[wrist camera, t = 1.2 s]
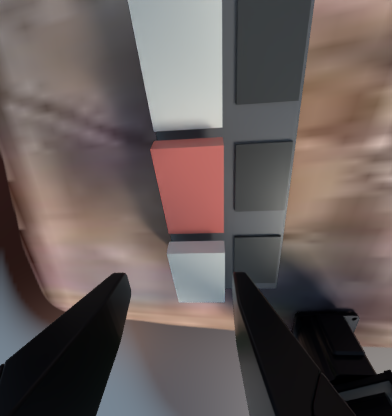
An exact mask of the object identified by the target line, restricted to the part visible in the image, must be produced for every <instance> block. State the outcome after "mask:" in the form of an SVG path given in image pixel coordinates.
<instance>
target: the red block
mask: <svg viewBox="0 0 392 416" xmlns="http://www.w3.org/2000/svg"><path fill="white" fill-rule="evenodd" d="M150 151H151V156H152V160H153V165H154V169H155V174H156V178H157V183H158V187H159V192H160V196H161V201H162V205H163V210H164V214H165V219H166V223H167V228H168V232H169V234H194V233H224V143H223V137H214V138H197V139H179V140H162V141H154V142H153V144H152V146H151V149H150Z"/></svg>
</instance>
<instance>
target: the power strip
mask: <svg viewBox="0 0 392 416" xmlns="http://www.w3.org/2000/svg"><path fill="white" fill-rule="evenodd" d="M314 1H315V0H222V128H206V129H190V130H174V131H157V132H156V137H157V141H162V140H179V139H197V138H214V137H223V143H224V233H194V234H171V241H172V242H181V241H224V246H225V289H232V275H233V272H246V273H247V275H248V276H249V277H250V279H251V280H252V281H253V282H254V284H255V285H256V286H257V288H276V287H277V279H278V272H279V264H280V257H281V249H282V242H283V234H284V226H285V219H286V211H287V204H288V196H289V189H290V181H291V174H292V166H293V159H294V151H295V144H296V136H297V129H298V121H299V114H300V106H301V99H302V91H303V84H304V76H305V68H306V61H307V53H308V46H309V38H310V31H311V23H312V16H313V8H314Z"/></svg>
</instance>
